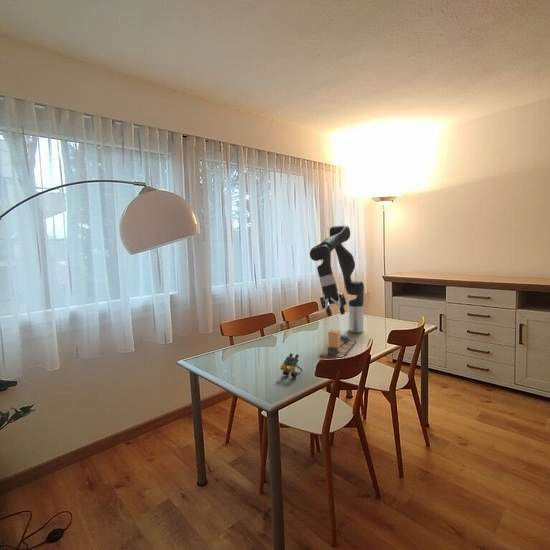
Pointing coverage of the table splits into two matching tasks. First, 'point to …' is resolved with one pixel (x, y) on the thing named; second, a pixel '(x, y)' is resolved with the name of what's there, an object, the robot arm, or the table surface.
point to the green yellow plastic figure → (292, 363)
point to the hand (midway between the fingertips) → (336, 315)
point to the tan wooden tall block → (334, 339)
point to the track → (342, 352)
